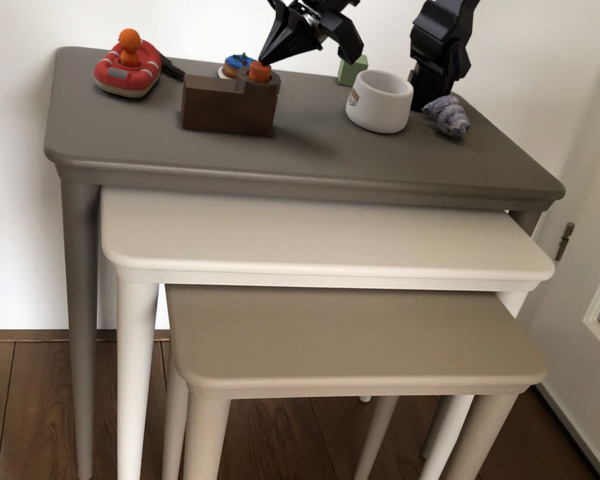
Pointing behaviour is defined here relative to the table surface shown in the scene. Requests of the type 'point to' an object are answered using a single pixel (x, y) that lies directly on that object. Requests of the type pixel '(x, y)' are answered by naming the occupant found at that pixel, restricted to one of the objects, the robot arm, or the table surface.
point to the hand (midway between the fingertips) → (260, 62)
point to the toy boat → (129, 66)
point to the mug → (380, 101)
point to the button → (259, 71)
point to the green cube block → (351, 70)
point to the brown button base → (230, 103)
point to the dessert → (234, 66)
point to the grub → (448, 115)
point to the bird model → (170, 67)
